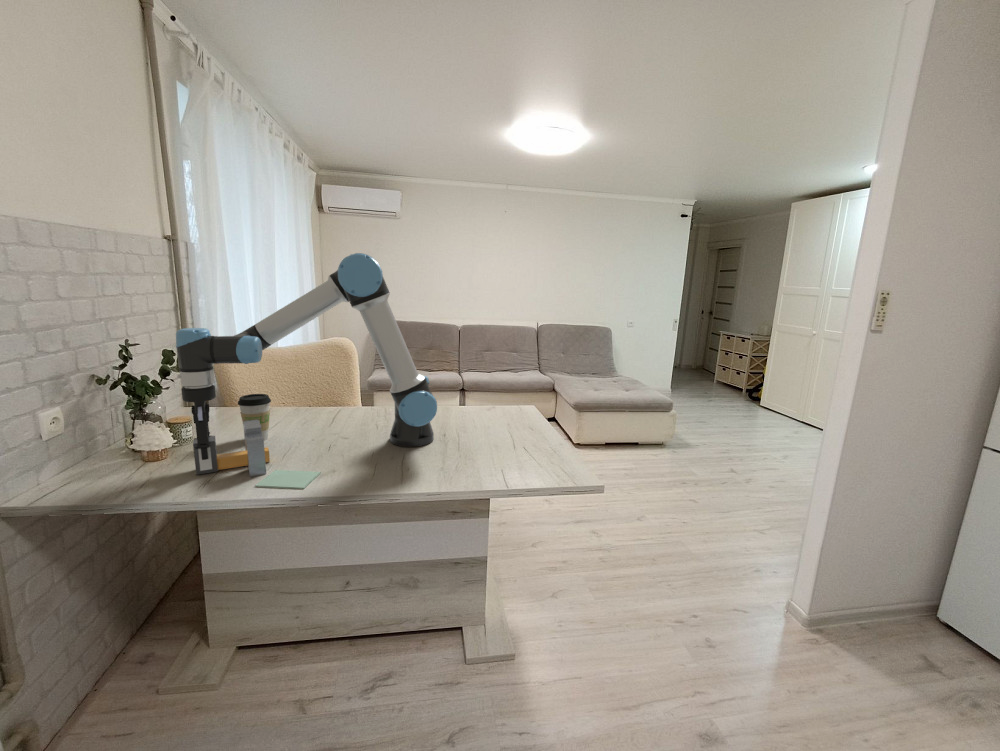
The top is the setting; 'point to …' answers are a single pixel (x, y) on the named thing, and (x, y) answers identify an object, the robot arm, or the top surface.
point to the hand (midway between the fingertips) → (206, 465)
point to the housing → (254, 447)
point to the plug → (223, 458)
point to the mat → (288, 479)
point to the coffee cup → (256, 410)
